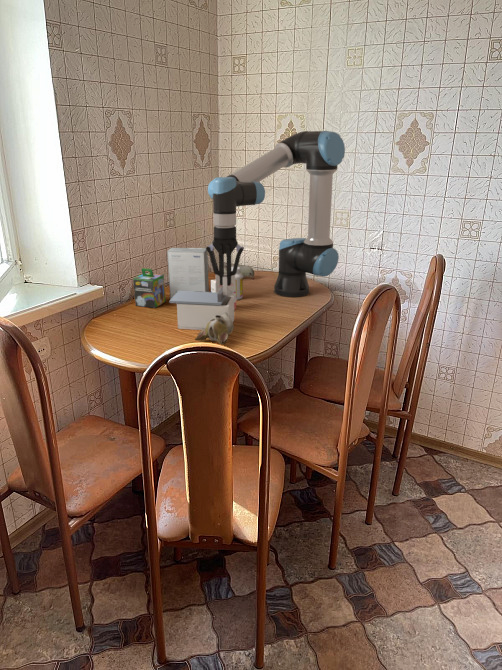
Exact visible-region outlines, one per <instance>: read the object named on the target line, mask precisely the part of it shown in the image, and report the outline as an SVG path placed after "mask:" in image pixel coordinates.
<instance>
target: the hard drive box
mask: <svg viewBox="0 0 502 670" xmlns="http://www.w3.org/2000/svg"><path fill="white" fill-rule="evenodd" d="M166 256H167V269H168V270H167V272H168V286H169V287H168V288H169V298H170V299H171V298H172V297H173V296H174V295H175V294H176V293H177V292H178V291H194V292H210V284H209V283H210V282H209V260H208V259H209V258H208V251H207V250H206V247H171V248H170V249H168V250H167V251H166Z"/></svg>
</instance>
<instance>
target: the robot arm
mask: <svg viewBox="0 0 502 670" xmlns="http://www.w3.org/2000/svg"><path fill="white" fill-rule="evenodd" d="M345 147H346V146H345V143H344V140H343V138H342V137H341V135H340V134H339V133H337V132H335V131H330V130H323V131H321V130H319V131H316V130H314V131H311V130H303V131H300V132H296V133H295V134H292V135H291V136H288V137H287V138H284V139H283V140H281V141H279V142H278V143H276V144H275V145H274V148H273V149H271V150H270V151H268V152H266V153H265V154H263V155H261V156H259V157H257V158H256V159H255V160H252V161H251V162H249V163H248V164H246V165H244V166H242V167H241V168H239V169H237V170H236V171H234V172H233V173H230V174H229V175H227V176H218V177H215V178H214V179H212V180H211V181H210V182H209V184H208V185H207V193H208V196H209V198H210V199H212V205H213V206H212V207H213V209H212V210H213V213H212V214H213V216H212V217H213V220H212V221H213V240H212V242H211V244H210V245H207V246H206V247H205V248H206V250H207V254H209V259H210V262H211V267H212V270H213V273H214V275H215V276H216V275H219V277H220V285H223V295H228V286H230V285H231V276H232V275H235V274H236V272H237V268H238V264H239V265H240V259H241V254H242V253H243V251H244V250H245V247H244V246H241V245H240V244H239V243H238V240H237V226H236V225H237V208H238V207H245V206H246V207H247V206H255V205H260V204H261V203H263V202H264V200H265V198H266V190H265V187H264V185H263V183H261V181H264V180H265V179H266V178H268V177H270V176H271V175H272V174H274V173H276V172H278V171H279V170H281V169H282V168H290V167H291V166H293V165H296V164H298V165H299V164H306V165H305V167H306V168H305V170H306V171H307V172H308V174H309V190H308V191H309V193H308V194H309V195H308V198H309V200H308V218H307V219H308V222H307V223H308V224H307V227H308V228H307V238H306V237H296V238H295V237H294V238H292V237H291V238H286V239H282V240H281V241H279V249H278V276H277V277H276V281H275V283H274V287H273V292H274V294H276V295H278V296H281V297H288V298H296V297H297V298H298V297H303V296H304V297H305V296H307V295H309V294H310V286H309V281H308V279H307V278H308V277H307V274H311V275H314V276H316V277H317V276H318V277H327V276H329V275H331V274H332V273H333V272H334V270H335V269H337V266H338V263H339V253H338V250H336V248H334V241H333V239H331V237H330V235H331V220H332V219H331V218H332V216H331V214H332V201H333V199H332V198H333V197H332V195H333V181H334V180H333V178H334V177H333V176H334V174H335V172H336V171H338V165H340V164H341V163H342V162H343V159H344V158H345V152H346V148H345ZM235 249H236V250H235ZM215 250H216V252H217V253H218V261H217V259H216V255H215V252H214V251H215ZM234 251H235V252H236V256H235V259H234V263H233V264H234V267H233V271H231V264H232V253H233V252H234ZM225 256H226V263H227V275H224V274H225V273H224V262H225ZM217 262H218V263H217ZM218 265H219V267H218Z"/></svg>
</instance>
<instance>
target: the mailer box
mask: <svg viewBox="0 0 502 670" xmlns="http://www.w3.org/2000/svg"><path fill="white" fill-rule="evenodd" d="M176 311H177V313H176V314H177V329H179V330H181V329H182V330H194V331H195V330H196V331H197V330H198V331H199V330H200V331H201V330H203V329H206V326H207V324H208V323H209V322H210V321H211V320H212V319H213V318H214V317H215V316H216V315H219V316H220V315H222V314H224V313H227V314H228V316H229V317H230V319H231V321H232V323H234V322H235V309H234V296H226V298H225V300H224V301H223V303H222V305H203V304H182V303H176Z"/></svg>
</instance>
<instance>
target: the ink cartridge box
mask: <svg viewBox="0 0 502 670" xmlns="http://www.w3.org/2000/svg"><path fill="white" fill-rule="evenodd" d="M224 275H227V273H226V274H225V273H224ZM222 286H223V285H220V277H219V275H217V274H216V275H215V279H210V292H216V293H219V291H220V289H221V288H222ZM227 296H234V310H236V309H237V300H236V281H235V275H232V276H231V285H230V286H228V295H227Z"/></svg>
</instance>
